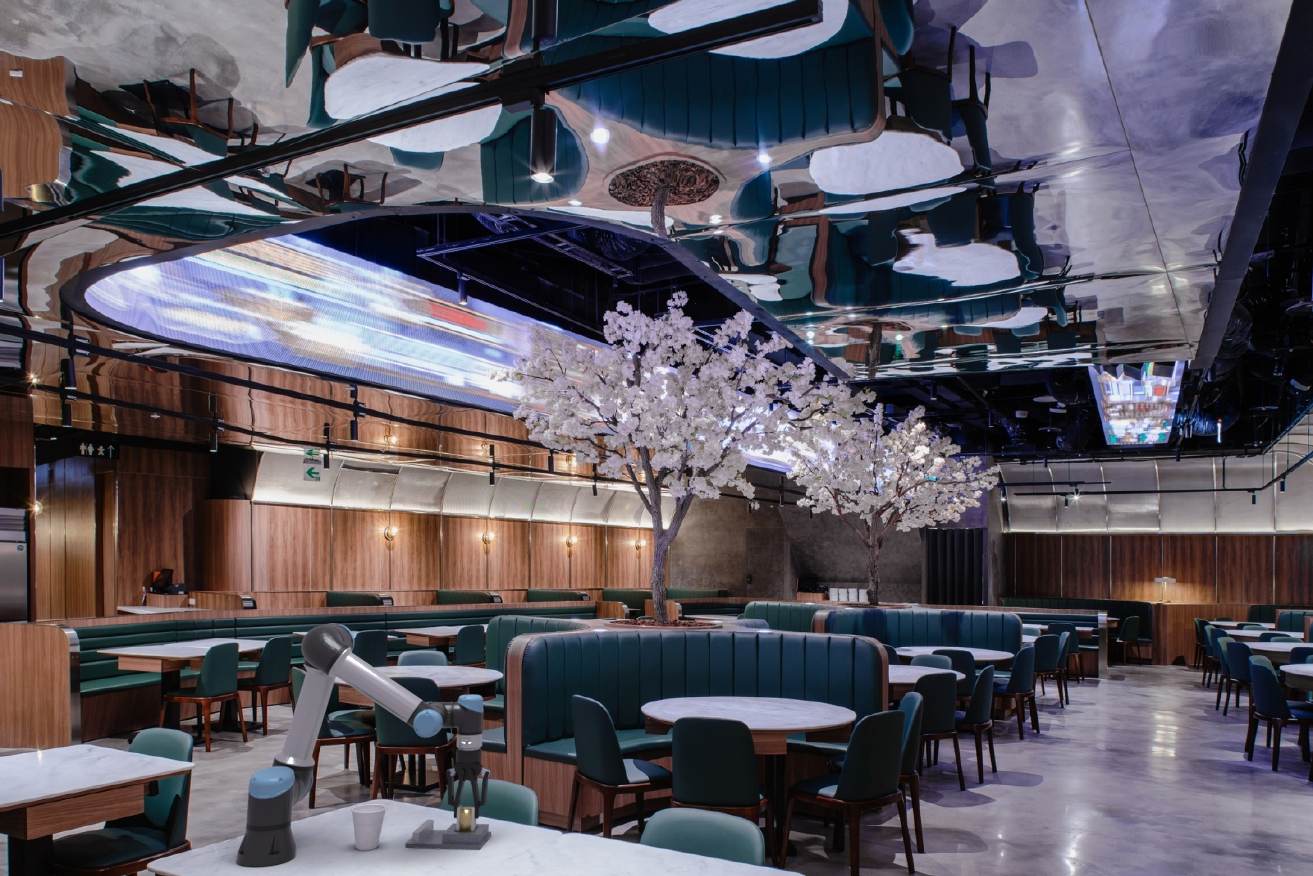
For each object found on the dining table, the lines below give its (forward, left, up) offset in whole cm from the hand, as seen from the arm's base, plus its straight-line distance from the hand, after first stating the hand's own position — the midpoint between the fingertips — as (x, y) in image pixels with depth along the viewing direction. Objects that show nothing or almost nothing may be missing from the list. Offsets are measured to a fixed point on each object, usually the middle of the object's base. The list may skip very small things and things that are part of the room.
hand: (466, 829), depth 266 cm
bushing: (0, 0, -2) cm, 2 cm away
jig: (-5, 0, -4) cm, 6 cm away
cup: (-27, -8, -4) cm, 28 cm away
